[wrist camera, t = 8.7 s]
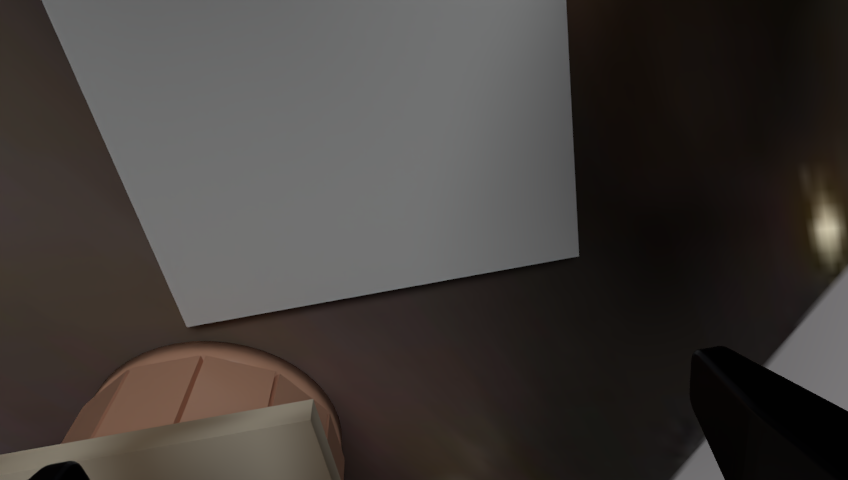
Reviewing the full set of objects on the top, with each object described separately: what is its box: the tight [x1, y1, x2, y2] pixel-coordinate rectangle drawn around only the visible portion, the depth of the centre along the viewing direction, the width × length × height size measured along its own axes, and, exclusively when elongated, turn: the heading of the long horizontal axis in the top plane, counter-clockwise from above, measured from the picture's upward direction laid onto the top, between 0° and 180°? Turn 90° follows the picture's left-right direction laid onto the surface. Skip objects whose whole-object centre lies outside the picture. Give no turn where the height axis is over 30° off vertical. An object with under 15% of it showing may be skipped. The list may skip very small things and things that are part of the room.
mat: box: [42, 0, 579, 327], centre depth 18 cm, size 14×14×1 cm
